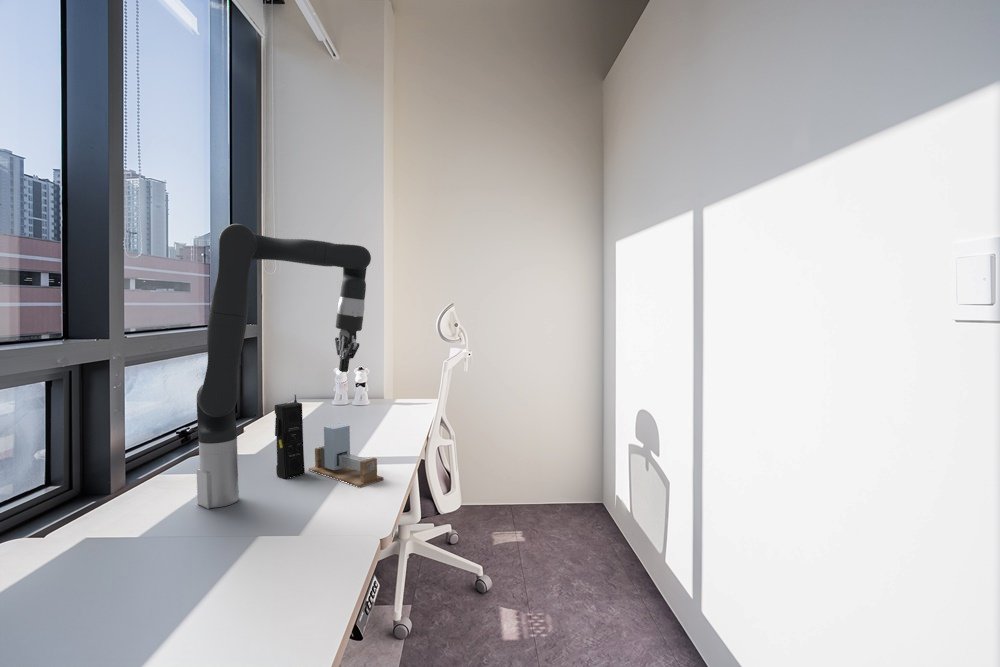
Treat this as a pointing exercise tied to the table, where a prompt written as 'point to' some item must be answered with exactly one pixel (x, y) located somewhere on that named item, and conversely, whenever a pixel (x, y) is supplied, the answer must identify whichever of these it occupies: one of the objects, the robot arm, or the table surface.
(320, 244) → the robot arm
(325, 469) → the stand
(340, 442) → the sleeve
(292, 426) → the portable radio
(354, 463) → the white long bar
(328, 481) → the table surface
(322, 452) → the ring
